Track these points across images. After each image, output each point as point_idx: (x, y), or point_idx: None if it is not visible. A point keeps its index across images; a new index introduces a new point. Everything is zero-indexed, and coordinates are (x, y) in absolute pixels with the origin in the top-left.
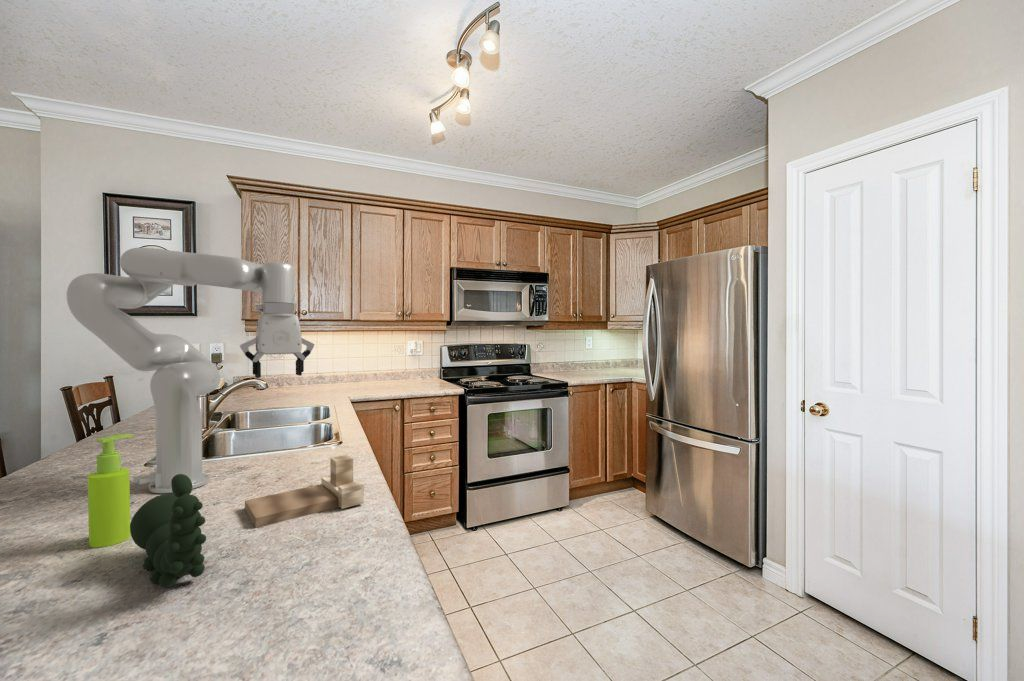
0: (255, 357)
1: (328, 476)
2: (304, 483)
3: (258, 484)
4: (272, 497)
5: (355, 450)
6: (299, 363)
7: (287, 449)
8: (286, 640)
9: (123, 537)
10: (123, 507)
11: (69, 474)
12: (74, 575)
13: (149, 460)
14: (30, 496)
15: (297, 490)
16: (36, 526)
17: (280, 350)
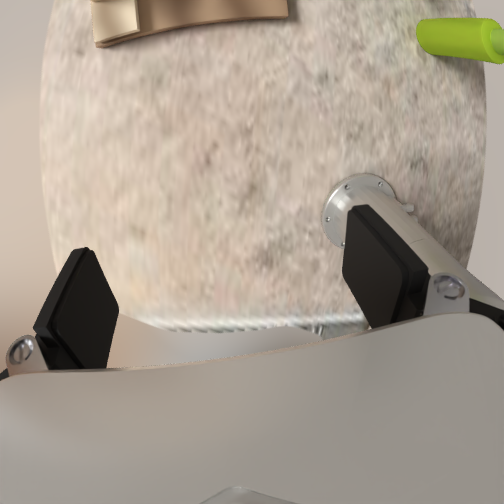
0: (461, 303)
1: (123, 29)
2: (165, 103)
3: (249, 143)
4: (241, 2)
5: None
6: (57, 309)
7: (188, 330)
8: None
9: (423, 20)
10: (448, 20)
11: None
12: None
13: None
14: (461, 253)
15: (190, 17)
16: (474, 145)
17: (242, 397)
